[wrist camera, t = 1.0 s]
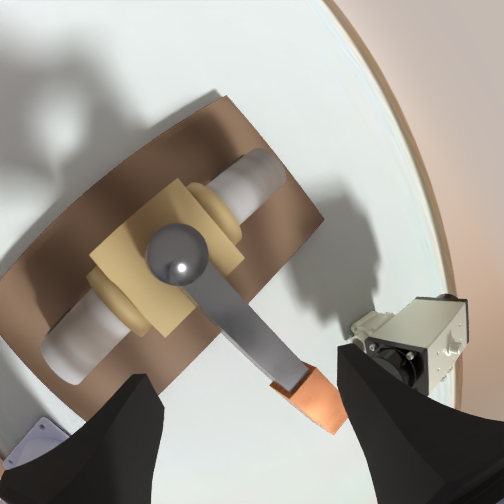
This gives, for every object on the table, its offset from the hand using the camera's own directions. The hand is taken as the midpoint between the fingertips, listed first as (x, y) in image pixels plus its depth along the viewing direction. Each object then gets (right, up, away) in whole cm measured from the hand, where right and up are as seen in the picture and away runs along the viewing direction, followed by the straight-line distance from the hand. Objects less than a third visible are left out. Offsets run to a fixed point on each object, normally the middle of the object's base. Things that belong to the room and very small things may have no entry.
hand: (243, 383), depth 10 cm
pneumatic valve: (+12, -4, +19) cm, 23 cm away
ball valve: (-7, +4, +10) cm, 13 cm away
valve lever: (0, 0, +5) cm, 5 cm away
